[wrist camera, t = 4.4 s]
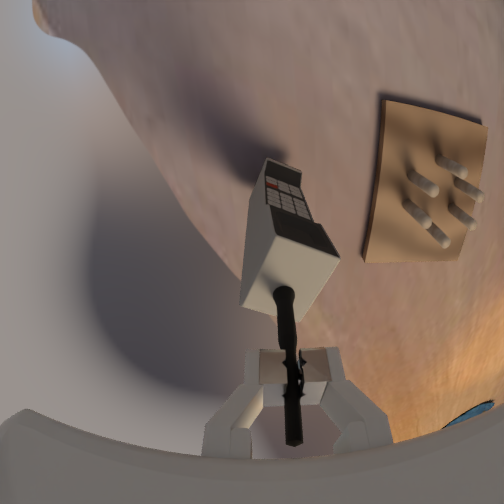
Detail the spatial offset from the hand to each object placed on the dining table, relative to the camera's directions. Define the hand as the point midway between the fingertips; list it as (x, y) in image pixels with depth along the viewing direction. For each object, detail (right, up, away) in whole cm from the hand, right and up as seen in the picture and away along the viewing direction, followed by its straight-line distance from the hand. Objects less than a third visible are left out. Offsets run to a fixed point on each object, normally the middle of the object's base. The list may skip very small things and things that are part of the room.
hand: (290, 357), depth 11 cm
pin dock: (+21, +12, +19) cm, 30 cm away
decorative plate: (+91, -67, +67) cm, 131 cm away
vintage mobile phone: (+1, +11, +18) cm, 22 cm away
